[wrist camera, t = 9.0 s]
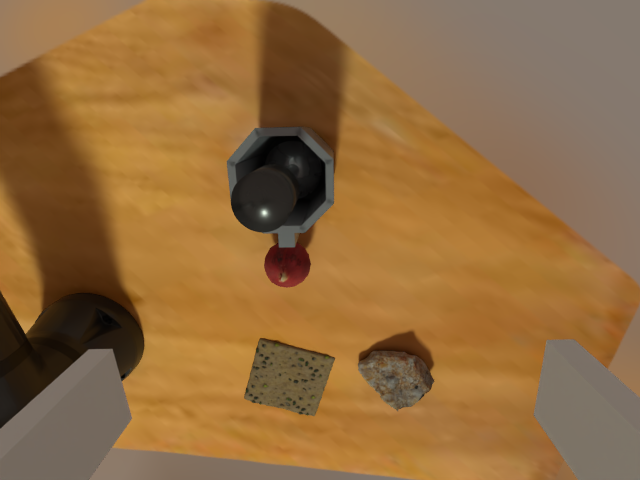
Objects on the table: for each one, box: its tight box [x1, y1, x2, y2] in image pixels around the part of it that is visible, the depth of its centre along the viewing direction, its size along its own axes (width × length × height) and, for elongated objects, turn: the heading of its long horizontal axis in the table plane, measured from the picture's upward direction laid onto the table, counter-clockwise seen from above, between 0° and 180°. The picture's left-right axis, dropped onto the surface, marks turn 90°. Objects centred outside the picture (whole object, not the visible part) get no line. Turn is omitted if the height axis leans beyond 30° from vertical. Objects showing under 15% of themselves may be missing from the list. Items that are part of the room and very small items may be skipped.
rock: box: [358, 351, 434, 411], centre depth 50 cm, size 9×6×10 cm
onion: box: [264, 243, 311, 287], centre depth 43 cm, size 6×6×8 cm
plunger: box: [231, 141, 322, 232], centre depth 31 cm, size 7×7×19 cm
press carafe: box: [227, 127, 334, 247], centre depth 37 cm, size 9×11×14 cm
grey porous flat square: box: [244, 339, 335, 416], centre depth 54 cm, size 12×12×1 cm
